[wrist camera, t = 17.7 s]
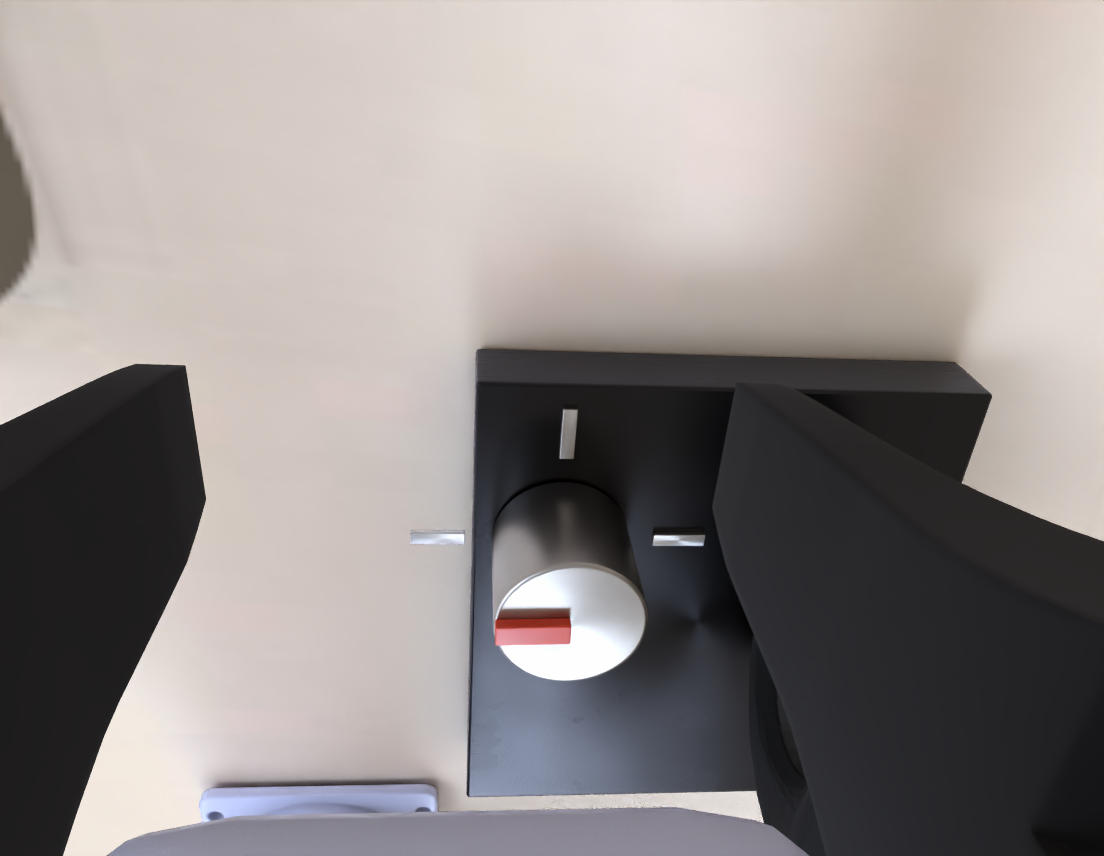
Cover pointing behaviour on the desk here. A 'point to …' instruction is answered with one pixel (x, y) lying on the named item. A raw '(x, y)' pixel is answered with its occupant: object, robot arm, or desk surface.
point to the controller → (778, 763)
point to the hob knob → (565, 583)
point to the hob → (653, 551)
